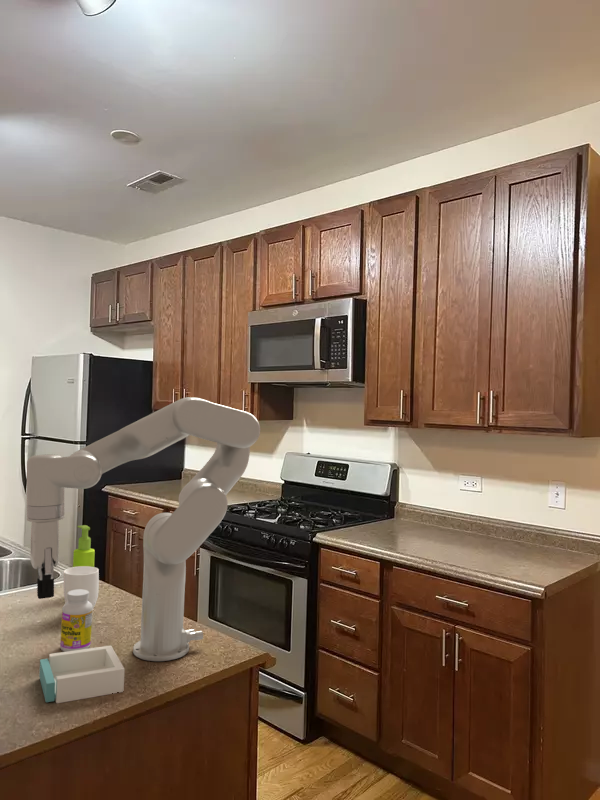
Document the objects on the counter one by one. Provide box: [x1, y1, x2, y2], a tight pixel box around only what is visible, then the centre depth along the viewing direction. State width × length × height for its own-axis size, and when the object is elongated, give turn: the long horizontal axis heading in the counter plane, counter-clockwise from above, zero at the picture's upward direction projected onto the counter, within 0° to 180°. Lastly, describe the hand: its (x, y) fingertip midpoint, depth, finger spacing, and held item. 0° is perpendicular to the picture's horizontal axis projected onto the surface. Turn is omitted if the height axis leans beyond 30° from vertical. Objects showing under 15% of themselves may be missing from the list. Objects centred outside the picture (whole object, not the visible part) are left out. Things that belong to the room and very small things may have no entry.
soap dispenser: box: [72, 524, 96, 567], centre depth 184 cm, size 6×7×20 cm
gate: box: [38, 658, 55, 703], centre depth 124 cm, size 2×12×4 cm, turn 28°
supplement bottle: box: [60, 589, 94, 652], centre depth 145 cm, size 7×7×13 cm
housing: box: [48, 644, 125, 704], centre depth 127 cm, size 12×13×4 cm
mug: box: [63, 566, 100, 612], centre depth 168 cm, size 12×9×12 cm
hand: (45, 596), depth 136 cm, fingers closed
